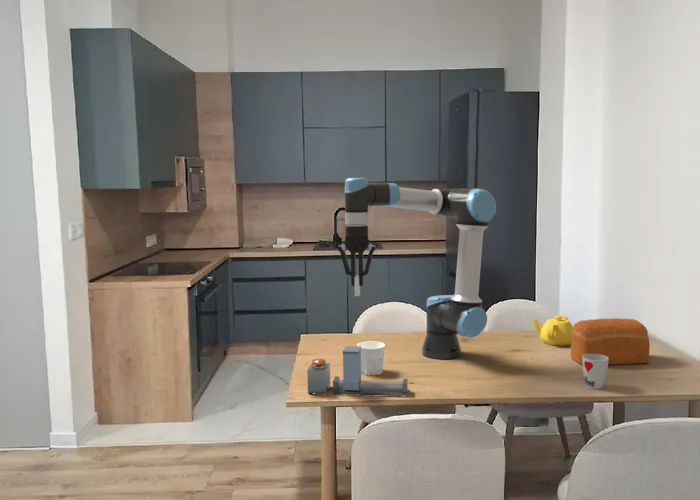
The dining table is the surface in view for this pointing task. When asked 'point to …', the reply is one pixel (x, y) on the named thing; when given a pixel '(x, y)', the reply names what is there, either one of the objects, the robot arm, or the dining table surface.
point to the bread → (611, 340)
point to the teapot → (555, 331)
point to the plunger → (318, 363)
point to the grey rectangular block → (351, 367)
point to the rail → (369, 392)
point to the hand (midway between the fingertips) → (357, 295)
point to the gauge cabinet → (318, 379)
